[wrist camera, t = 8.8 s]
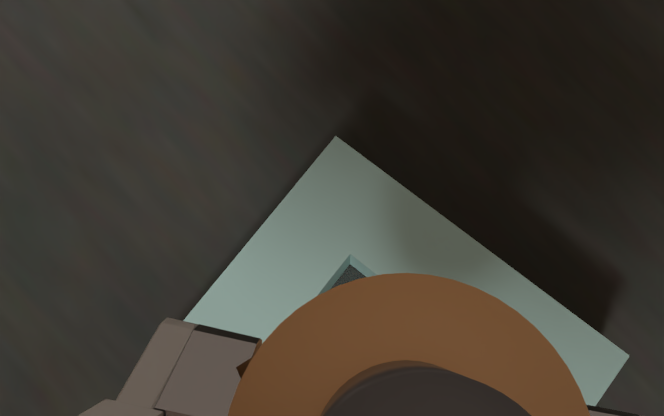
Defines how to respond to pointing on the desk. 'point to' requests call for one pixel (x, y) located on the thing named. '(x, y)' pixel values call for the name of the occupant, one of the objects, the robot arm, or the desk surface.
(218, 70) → the desk surface
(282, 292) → the socket block
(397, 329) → the plug
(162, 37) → the desk surface
